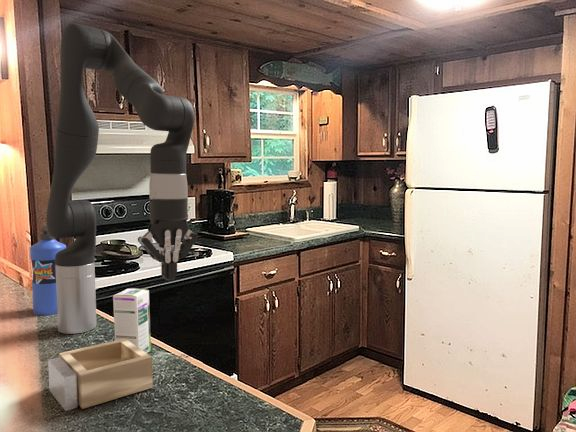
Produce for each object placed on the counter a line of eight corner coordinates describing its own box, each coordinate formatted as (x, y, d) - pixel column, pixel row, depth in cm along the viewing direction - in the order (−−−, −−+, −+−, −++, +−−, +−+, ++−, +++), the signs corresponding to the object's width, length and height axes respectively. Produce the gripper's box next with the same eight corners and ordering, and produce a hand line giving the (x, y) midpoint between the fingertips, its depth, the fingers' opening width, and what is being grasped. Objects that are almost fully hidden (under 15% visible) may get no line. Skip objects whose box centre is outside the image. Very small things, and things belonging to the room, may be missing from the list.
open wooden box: (60, 383, 94) (58, 353, 93) (125, 365, 102) (125, 338, 102) (82, 409, 84) (81, 375, 83) (152, 387, 92) (152, 357, 92)
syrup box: (138, 360, 106) (137, 295, 104) (114, 358, 107) (112, 293, 105) (151, 351, 111) (150, 289, 110) (127, 348, 112) (126, 287, 111)
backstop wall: (49, 390, 91) (48, 359, 90) (60, 387, 92) (59, 357, 92) (65, 411, 84) (64, 377, 83) (77, 407, 85) (76, 374, 84)
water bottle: (58, 315, 136) (55, 227, 134) (25, 315, 137) (22, 227, 134) (73, 306, 146) (70, 223, 143) (43, 305, 146) (39, 223, 143)
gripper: (188, 193, 105) (188, 272, 107) (129, 195, 97) (130, 280, 98) (206, 196, 99) (206, 278, 101) (145, 198, 91) (146, 288, 93)
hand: (169, 279), depth 100 cm, fingers closed
